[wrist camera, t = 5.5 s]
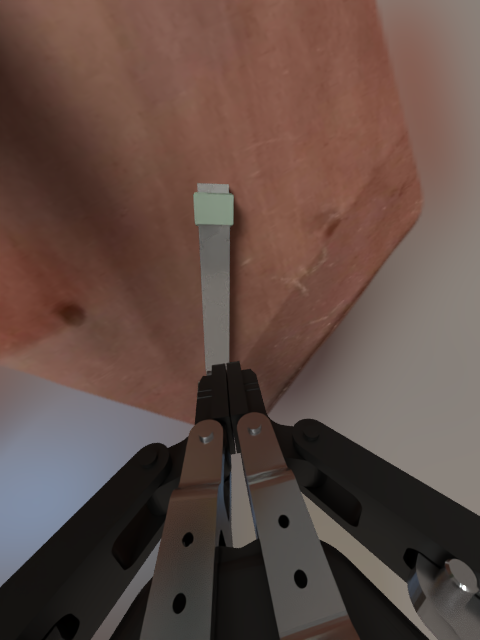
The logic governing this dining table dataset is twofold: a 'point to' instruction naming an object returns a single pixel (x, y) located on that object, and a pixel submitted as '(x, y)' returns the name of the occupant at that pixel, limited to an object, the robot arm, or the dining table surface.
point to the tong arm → (215, 272)
